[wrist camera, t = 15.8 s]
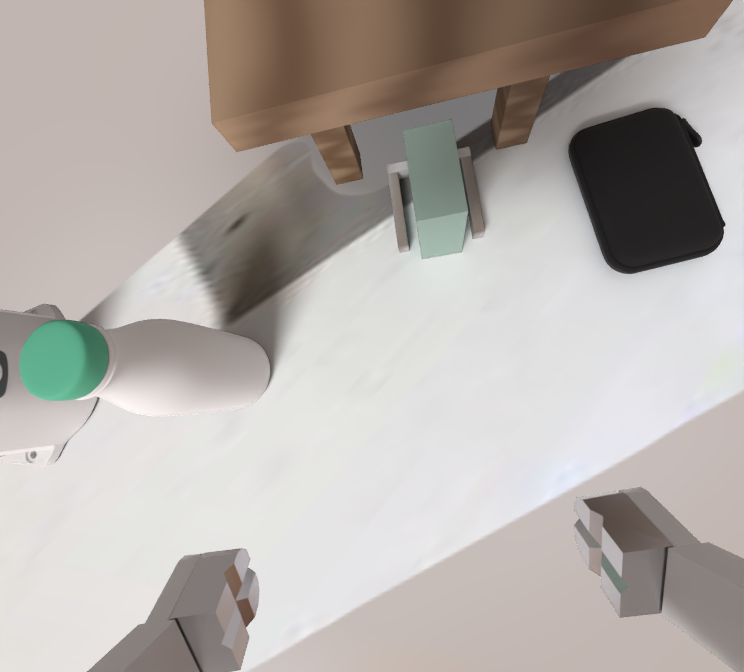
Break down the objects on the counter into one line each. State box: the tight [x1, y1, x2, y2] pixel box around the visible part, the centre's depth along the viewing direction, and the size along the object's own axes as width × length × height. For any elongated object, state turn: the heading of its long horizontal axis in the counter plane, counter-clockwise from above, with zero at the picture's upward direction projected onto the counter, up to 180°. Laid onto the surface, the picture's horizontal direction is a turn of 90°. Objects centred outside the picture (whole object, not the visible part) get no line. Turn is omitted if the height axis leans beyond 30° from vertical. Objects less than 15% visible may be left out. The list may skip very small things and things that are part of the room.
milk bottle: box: [19, 319, 270, 417], centre depth 30 cm, size 8×8×20 cm
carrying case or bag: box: [568, 108, 725, 274], centre depth 34 cm, size 11×3×15 cm
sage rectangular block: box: [403, 119, 468, 259], centre depth 34 cm, size 4×8×9 cm, turn 7°
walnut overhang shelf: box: [204, 0, 733, 252], centre depth 27 cm, size 20×14×24 cm
